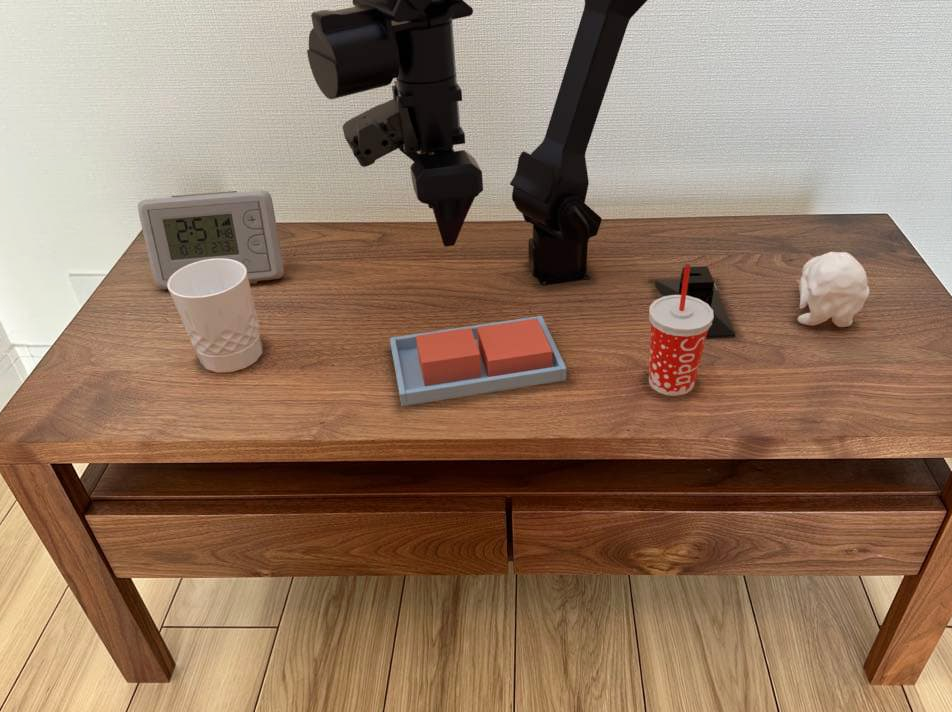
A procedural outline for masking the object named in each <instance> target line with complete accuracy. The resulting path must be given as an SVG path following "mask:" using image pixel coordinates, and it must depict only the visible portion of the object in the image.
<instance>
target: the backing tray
mask: <svg viewBox="0 0 952 712" xmlns="http://www.w3.org/2000/svg"><path fill="white" fill-rule="evenodd" d="M530 319H538V321H539V323H540V325H541V328H542V330H543V332H544V334H545V336H546V338H547V341H548V343H549V345H550V347H551V349H552V367H550V368H544V369H538V370H531V371H525V372H518V373H512V374H505V375H499V376H493V377H488V375H487V372H486V369H485V366H484V363H483V360H482V357H481V354H480V363H481V377H478V378H472V379H466V380H459V381H453V382H446V383H440V384H434V385H427V386H425V385H424V381H423V376H422V372H421V367H420V363H419V358H418V351H417V343H416V336H419V335H426V334H433V333H439V332H446V331H453V330H460V329H467V328H471V329H472V332H473V335H474V338H475V341H476V344H477V347H478V340H477V327H482V326H489V325H496V324H503V323H509V322H516V321H523V320H530ZM389 343H390V349H391V356H392V360H393V366H394V372H395V377H396V385H397V389H398V394H399V400H400V406H401V407H406V406H413V405H420V404H425V403H431V402H437V401H444V400H450V399H456V398H463V397H468V396H475V395H481V394H488V393H494V392H500V391H507V390H513V389H514V390H515V389H520V388H527V387H531V386H533V387H534V386H539V385H544V384H545V385H546V384H552V383H557V382H563V381H567V369H568V368H567V366H566V364H565V362H564V360H563V358H562V356H561V353H560V351H559V349H558V347H557V345H556V343H555V340H554V339H553V337H552V334H551V332H550V331H549V328H548V326H547V324H546V322H545V319H544V318H543V316H542V315H537V316H531V317H524V318H516V319H509V320H501V321H495V322H490V323H489V322H488V323H481V324H475V325H468V326H461V327H453V328H448V329H447V328H446V329H440V330H434V331H427V332H426V331H425V332H420V333H413V334H406V335H399V336H392V337H389ZM478 350H479V348H478ZM479 353H480V351H479Z"/></svg>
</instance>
